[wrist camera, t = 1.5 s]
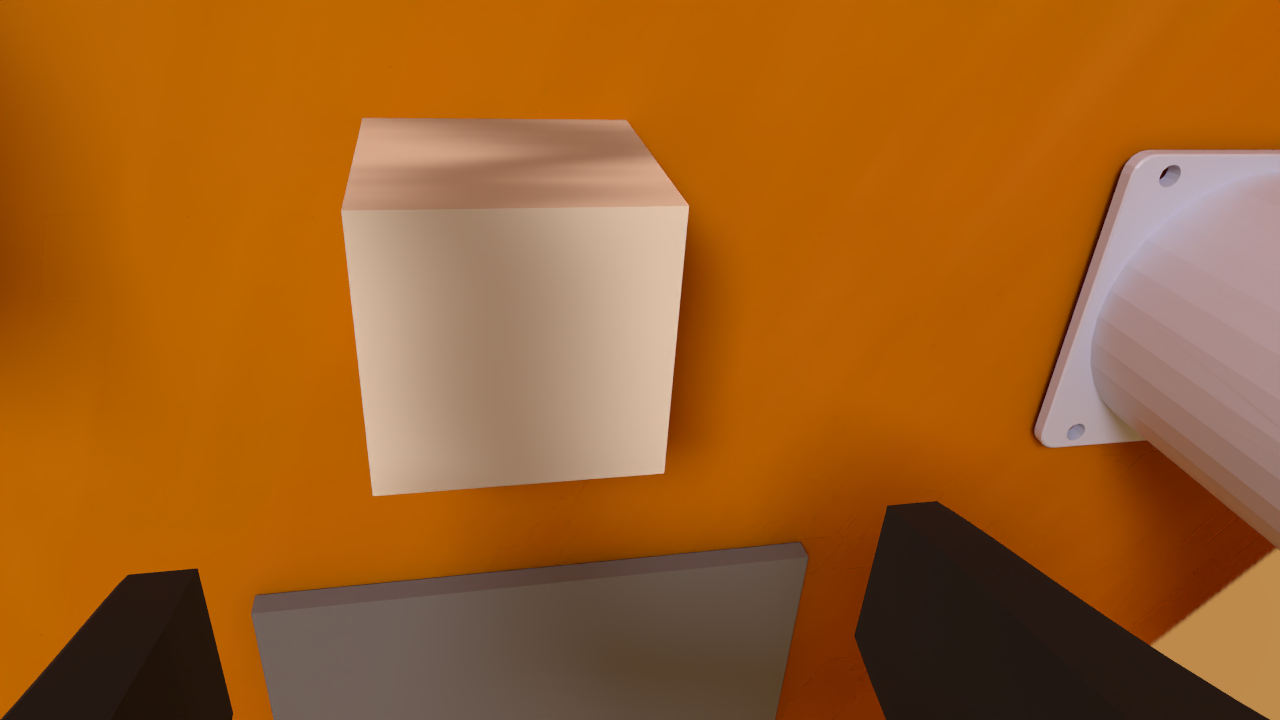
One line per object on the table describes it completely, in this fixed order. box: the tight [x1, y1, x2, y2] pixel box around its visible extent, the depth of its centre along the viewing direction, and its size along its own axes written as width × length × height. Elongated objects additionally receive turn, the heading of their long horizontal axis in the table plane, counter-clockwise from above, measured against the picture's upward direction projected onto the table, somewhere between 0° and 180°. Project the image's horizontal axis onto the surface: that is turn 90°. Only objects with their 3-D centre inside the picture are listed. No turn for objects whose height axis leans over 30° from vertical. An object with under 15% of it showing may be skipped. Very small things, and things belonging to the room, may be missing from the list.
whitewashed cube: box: [341, 118, 689, 496], centre depth 16 cm, size 5×5×5 cm
